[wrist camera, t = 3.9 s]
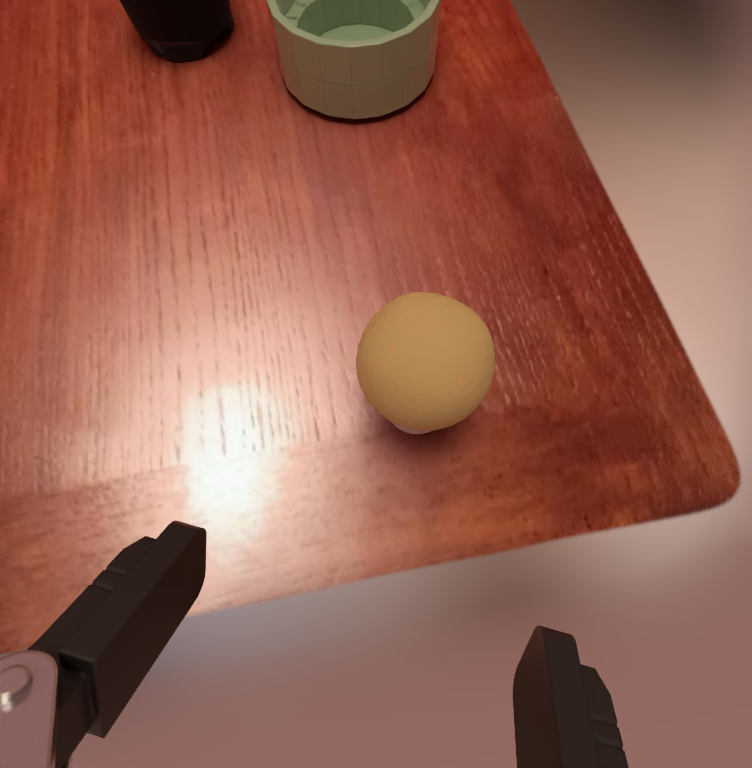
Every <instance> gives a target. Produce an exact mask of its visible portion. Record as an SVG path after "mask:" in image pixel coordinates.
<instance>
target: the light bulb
mask: <svg viewBox="0 0 752 768" xmlns="http://www.w3.org/2000/svg"><path fill="white" fill-rule="evenodd" d="M494 367H495V351H494V345H493V341H492V337H491V335H490V332H489V330H488V328H487V326H486V325H485V323H484V322H483V320H482V319H481V318H480V317H479V316H478V315H477V314H476V313H475V312H474V311H473V310H471V309H470V308H469V307H467V306H466V305H464V304H462V303H461V302H459V301H457V300H455V299H453V298H450V297H447V296H444V295H440V294H436V293H428V292H414V293H408V294H404V295H402V296H400V297H398V298H396V299H394V300H392V301H391V302H389V303H388V304H386V305H385V306H384V307H383V308H382V309H381V310H379V311H378V312H377V313H376V314H375V316H374V317H373V318H372V320H371V321H370V322H369V323H368V325H367V327H366V329H365V330H364V332H363V334H362V337H361V340H360V342H359V345H358V351H357V357H356V369H357V376H358V380H359V383H360V386H361V389H362V391H363V393H364V394H365V396H366V398H367V400H368V401H369V403H370V404H371V405H372V406H373V407H374V408H375V410H376V411H378V412H379V413H380V414H381V415H382V416H384V417H385V418H386V419H387V420H389V421H391V422H392V423H393V424H394V425H395V426H396V427H397V428H399V429H400V430H402V431H404V432H407V433H411V434H424V433H428V432H430V431H432V430H438V429H443V428H446V427H450V426H452V425H454V424H456V423H458V422H460V421H462V420H464V419H465V418H466V417H467V416H469V415H470V414H471V413H472V412H473V411H474V410H475V409H476V408H477V407H478V406H479V404H480V403H481V402H482V401H483V399H484V398H485V396H486V394H487V392H488V390H489V388H490V385H491V381H492V377H493V374H494Z"/></svg>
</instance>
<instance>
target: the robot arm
mask: <svg viewBox="0 0 752 768" xmlns="http://www.w3.org/2000/svg"><path fill="white" fill-rule="evenodd" d="M205 569H206V530H205V529H204V528H200V527H197V526H193V525H190V524H186V523H183V522H179V521H173V522H171V523H170V524H169V525H168V526H167V527H166V529H165V530H164V531H163V532H162V533H161V534H160V535H159V537H158V538H157V539H154V538H150V537H147V536H145V537H143V538H142V539H140V540H138V541H136V542H135V543H133V544H131V545H130V546H128V547H126V548H124V549H123V550H122V551H121V552H120V553H119V554H118V555H117V556H116V557H115V558H114V560H113V561H112V562H111V563H110V564H109V565H108V566H107V568H106V570H103V571H102V572H101V573H100V574H99V575H98V577H97V578H96V579H95V580H94V581H93V583H92V585H89V586H88V587H87V588H86V589H85V590H84V591H83V592H82V594H81V595H80V596H79V597H78V598H77V599H76V600H75V601H74V602H73V603H72V604H71V605H70V606H69V607H68V608H67V609H66V611H65V612H64V613H63V614H62V615H61V616H60V617H59V618H58V619H57V620H56V621H55V622H54V623H53V624H52V625H51V626H50V628H49V629H48V630H47V631H46V632H45V633H44V634H43V635H42V636H41V637H40V638H39V639H38V640H37V641H36V642H35V643H34V644H33V645H32V646H31V647H30V648H28V649H27V650H24V651H19V652H15V653H12V654H9V655H6V656H4V657H2V658H0V768H72V758H73V756H72V753H73V751H74V750H75V749H76V747H77V746H78V744H79V743H80V741H81V740H82V739H83V737H84V736H85V734H86V733H90V734H93V735H96V736H98V737H101V738H105V736H106V735H107V733H108V732H109V730H110V729H111V727H112V725H113V724H114V723H115V721H116V720H117V718H118V717H119V715H120V713H121V712H122V710H123V709H124V707H125V706H126V704H127V703H128V701H129V700H130V698H131V697H132V695H133V694H134V692H135V691H136V689H137V688H138V686H139V685H140V683H141V681H142V680H143V679H144V677H145V675H146V674H147V673H148V671H149V670H150V668H151V667H152V665H153V664H154V662H155V661H156V659H157V658H158V656H159V655H160V653H161V651H162V650H163V649H164V647H165V645H166V644H167V642H168V641H169V639H170V638H171V636H172V635H173V633H174V632H175V630H176V629H177V627H178V626H179V624H180V623H181V621H182V620H183V618H184V617H185V615H186V614H187V612H188V611H189V609H190V608H191V606H192V605H193V603H194V602H195V600H196V599H197V597H198V595H199V593H200V590H201V588H202V585H203V582H204V578H205ZM513 708H514V724H515V739H516V740H515V741H516V757H517V768H628V764H627V760H626V755H625V752H624V751H623V749H622V746H623V744H622V739H621V735H620V731H619V728H618V727H617V719H616V715H615V711H614V707H613V703H612V699H611V695H610V693H609V691H608V690H607V688H606V686H605V685H604V683H603V681H602V680H601V678H600V677H599V675H598V673H597V671H596V670H595V668H591V667H588V666H585V665H581V664H580V660H579V655H578V651H577V645H576V641H575V639H574V637H573V636H572V635H570V634H567V633H563V632H560V631H556V630H553V629H549V628H546V627H542V626H537V627H536V628H535V630H534V631H533V634H532V636H531V638H530V640H529V642H528V645H527V647H526V649H525V651H524V653H523V655H522V657H521V660H520V662H519V664H518V666H517V669H516V673H515V678H514V684H513Z"/></svg>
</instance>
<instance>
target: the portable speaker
mask: <svg viewBox="0 0 752 768" xmlns="http://www.w3.org/2000/svg"><path fill="white" fill-rule="evenodd" d="M120 2H121V4H122V5H123V7H124V9H125V11H126V13H127V15H128V16H129V18H130V20H131V22H132V24H133V25H134V27H135V29H136V31H137V32H138V33H139V35H140V36H141V37H142V38H143V40H145V41H146V42H147V43H148V44H149V46H150V47H151V48H152V49H153V50H154V52H155V53H156V54H157V55H158V56H161V57H164V58H167V59H170V60H173V61H175V62H178V61H186V60H194V59H201V57H202V55H203V53H204V51H205V49H206V47H207V45H208V44H209V43H210V42H211V41H212V40H213V39H215V38H216V37H217V36H218V35H219V34H220V33H221V32H222V31H223V30H224V29H225V30H230V31H231V30H232V28H233V26H234V22H233V19H232V15H231V11H230V7H229V6H230V3H229V0H120Z"/></svg>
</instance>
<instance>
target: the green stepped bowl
mask: <svg viewBox="0 0 752 768" xmlns="http://www.w3.org/2000/svg"><path fill="white" fill-rule="evenodd" d="M266 4H267V9H268V13H269V18H270V23H271V28H272V32H273V37H274V42H275V47H276V51H277V56H278V61H279V65H280V70H281V73H282V76H283V79H284V81H285V84H286V87H287V89H288V90H289V91H290V92H291V93H292V94H293V95H294V96H295V97H296V98H297V99H298V100H299V101H300V102H301V103H302V104H304V105H305V106H307V107H309V108H311V109H314V110H316V111H318V112H320V113H322V114H325V115H327V116H334V117H341V118H348V119H362V118H370V117H378V116H382V115H386V114H388V113H390V112H393V111H395V110H397V109H400V108H402V107H405V106H407V105H408V104H409V103H411V102H412V101H413V100H414V99H415V98H416V97H418V96H419V95H420V94H421V93H422V92H423V91H424V90H425V89H426V87H427V85H428V83H429V81H430V79H431V77H432V75H433V73H434V69H435V59H436V49H437V39H438V29H439V19H440V9H441V0H266Z"/></svg>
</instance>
